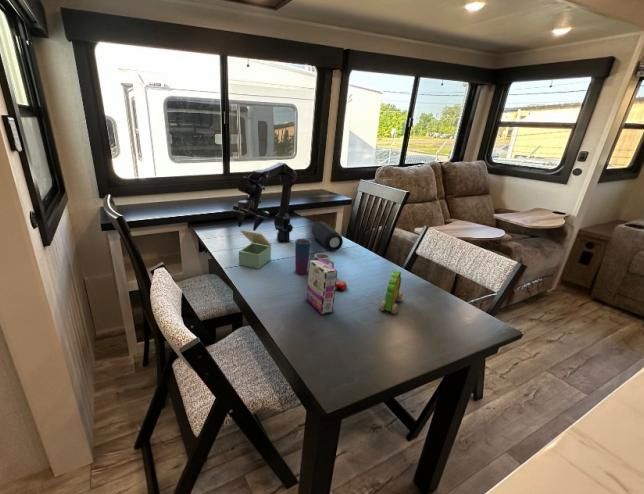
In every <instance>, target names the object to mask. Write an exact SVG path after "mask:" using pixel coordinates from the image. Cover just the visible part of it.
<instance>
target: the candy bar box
mask: <svg viewBox="0 0 644 494" xmlns="http://www.w3.org/2000/svg"><path fill="white" fill-rule="evenodd" d="M337 277H338V270H337V269H335V267H334V268H333V267H332V265H330V264H329V265H328V264H327V263H325V262H324V261H323V260H321V259H317V260H314V259H312V260H309V263H308V277H307V278H308V279H307V289H306V290H307V292H306V301H307V302H309V304H311V306H312V307H313V308H314V309H316V311H318V312H319V313H320V315H325V314H329V313H333V311H334V302H335V295H336V289H335V287H336V278H337ZM337 279H338V278H337Z"/></svg>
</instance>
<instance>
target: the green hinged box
mask: <svg viewBox="0 0 644 494" xmlns="http://www.w3.org/2000/svg"><path fill="white" fill-rule="evenodd" d="M271 259H272V245H271V246H267V245H262V244H256V243H252V242H250V243H249V244H248V245H246V246H245V247H243V248H241V249H240V250H238V265H240V266H243V267H248V268H252V269H256V270H259V269H261V268H262V267H263V266H265V265H266V264H267V263H268V262H270V261H271Z"/></svg>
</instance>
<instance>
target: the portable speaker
mask: <svg viewBox="0 0 644 494" xmlns="http://www.w3.org/2000/svg"><path fill="white" fill-rule="evenodd" d="M311 234H312V235H313V237H314V238H315V239H317V240H318V242H320V243H321V244H322V245H323V247H325V249H327V250H329V251H338V250H340V249H341V248H342V246H343V244H344V240H343V239H344V238H343V236H342V235H341V234H340V233H339V232H338V231H336V230H335V229H334V228H332V227H331V226H329V224H327V223H326V222H325V221H316V222H315V223H313V224H312V226H311Z"/></svg>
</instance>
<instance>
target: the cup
mask: <svg viewBox="0 0 644 494" xmlns="http://www.w3.org/2000/svg"><path fill="white" fill-rule="evenodd" d="M311 244H312V241H311V239H308V238H297V239H295V241H294V250H295V252H294V253H295V254H294V256H295V257H294V261H295V266H294V267H295V274H296V275H300V276H304V275H307V273H308V268H309V259H310V252H311Z"/></svg>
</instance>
